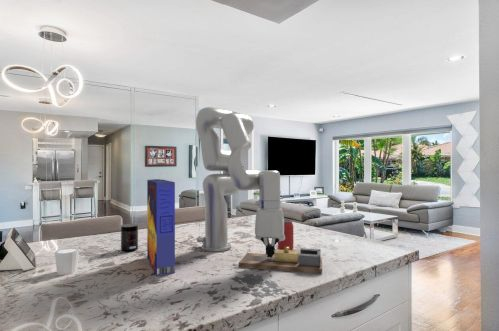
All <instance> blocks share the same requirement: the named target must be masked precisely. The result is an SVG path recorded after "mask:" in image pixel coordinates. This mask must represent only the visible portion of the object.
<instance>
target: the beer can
mask: <svg viewBox="0 0 499 331" xmlns="http://www.w3.org/2000/svg"><path fill="white" fill-rule="evenodd" d="M284 228H285V232H284V235H285V240H284V241H278V242H277V249H279V250H284V247H285V246H288V247H289V250H293V249H294V223H293V220H291V219H285V218H284Z"/></svg>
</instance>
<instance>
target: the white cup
mask: <svg viewBox="0 0 499 331" xmlns="http://www.w3.org/2000/svg"><path fill="white" fill-rule="evenodd" d="M79 254H80V249H79V248H76V247H75V248H73V247H71V248H64V249H60V250H57V251H56V250H55V252H54V257H55V266H56V274H57V275H58V276H61V275H62V276H66V275H71V274H74V273H76V272H78V271H77V270H78V263H79Z"/></svg>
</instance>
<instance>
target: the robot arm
mask: <svg viewBox="0 0 499 331" xmlns="http://www.w3.org/2000/svg"><path fill="white" fill-rule="evenodd" d="M195 127H196V132H197V135H198V138H199V143H200V148H201V157H202V163H203V164H202V165H203V167H204V169H205V170H206V171H208V172H209V171H210V172H222V173H212V174H208V175H206V177H204V179H203V181H202V191H203V197H204V211H205V212H204V218H205V220H204V223H205V224H204V226H205V227H204V234H205V235H204V237H203V236H197V238H196V242H197V243H202V244H201V249H202V250H204V251H206V252H223V251H228V250H230V249H231V248H232V244H231V243H230V242H228V239H229V238H228V236H229V235H228V234H229V233H228V231H229V230H228V203H227V200H226V199H225V197H224V196H231V195H236V194H238V192H239V191H243V192H244V191H245V192H246V191H256V190H258V191H259V192H258V193H259V194H258V195H259V196H258V198H259V200H258V201H255V202H254V203H255V206H258V208H257V209H256V213H255V224H254V234H255V236H254V239H256V240H259V241H261V242H262V243H263V244H264V246H265V254H267V257H271V258H272V256H273V255H275V251H276V248H275V247H276V246H275V245H276V244H278V241H284V240H285V235H284V232H285V228H284V219H285V216H284V211H283V208H281V174H280V171H278V170H262V169H245V166H244V164H243V161H242V155H243V154H245V153H246V152H248V151H249V150H250V149H251V147H252V142H251V140H250V137H249V135H250V134H252V132H253V130H254V121H253V120H252V118H251V117H250V116H249V115H247V114H243V113H240V112H236V111H233V110H230V109H229V110H227V109H224V108H223V109H222V108H218V107H210V106H209V107H203V108H201V109H200V110H199V111H198V112H197V114H196V118H195ZM215 129H221V130H222V131H223V134H224V136H225V139H226V141H227V144H228V146H229V149H230V150H227V149H222V148H221V141H220V137H219V136H218V134H217V132H216V131H215ZM270 239H271V240H270ZM270 241H271V242H270Z"/></svg>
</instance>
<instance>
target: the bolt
mask: <svg viewBox="0 0 499 331" xmlns="http://www.w3.org/2000/svg"><path fill="white" fill-rule="evenodd" d="M299 254H300V250H295V249H294V250H293V249H292V250H289V247H288V246H285V247H284V250H279V249H278V248H277V249H276V248H275V254H274V255H275V261H281V262H295V263H298V260H299Z"/></svg>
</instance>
